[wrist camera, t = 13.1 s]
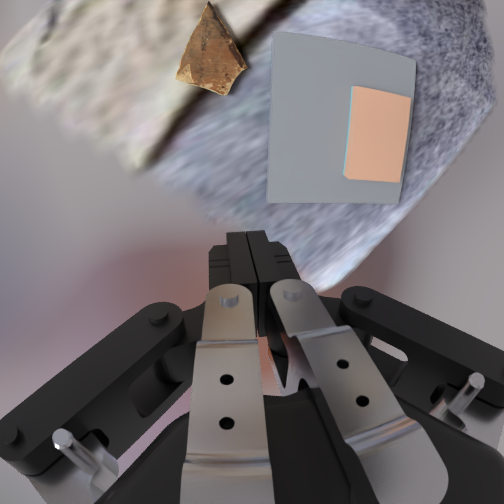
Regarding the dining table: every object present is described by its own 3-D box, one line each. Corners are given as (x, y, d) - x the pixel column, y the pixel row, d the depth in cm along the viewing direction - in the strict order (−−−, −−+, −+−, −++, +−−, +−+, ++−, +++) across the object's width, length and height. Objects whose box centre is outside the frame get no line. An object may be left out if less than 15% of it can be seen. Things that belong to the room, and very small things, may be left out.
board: (271, 33, 29) (274, 31, 28) (411, 60, 31) (416, 60, 30) (265, 199, 40) (267, 203, 39) (394, 201, 42) (398, 204, 41)
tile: (358, 86, 30) (411, 98, 31) (351, 86, 32) (402, 96, 33) (348, 179, 36) (399, 182, 37) (342, 174, 38) (392, 178, 39)
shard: (208, 4, 26) (208, 0, 25) (267, 24, 28) (270, 21, 27) (173, 79, 31) (171, 79, 29) (232, 99, 33) (233, 99, 31)
